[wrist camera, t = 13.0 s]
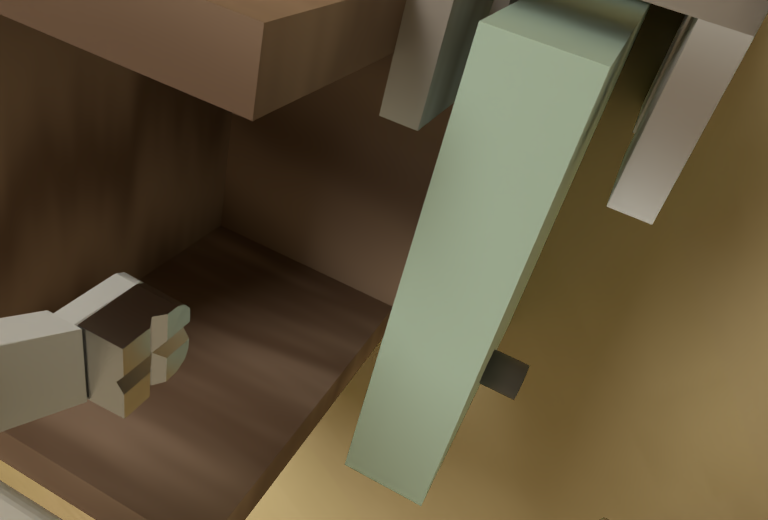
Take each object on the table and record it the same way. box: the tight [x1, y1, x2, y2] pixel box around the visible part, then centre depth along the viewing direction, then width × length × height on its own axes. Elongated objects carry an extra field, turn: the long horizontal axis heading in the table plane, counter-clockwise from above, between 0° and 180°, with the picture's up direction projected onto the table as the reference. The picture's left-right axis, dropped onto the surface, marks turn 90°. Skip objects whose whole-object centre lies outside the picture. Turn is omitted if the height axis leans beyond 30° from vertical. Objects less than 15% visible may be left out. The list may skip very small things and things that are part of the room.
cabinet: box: [0, 0, 768, 520], centre depth 19 cm, size 17×16×14 cm
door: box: [345, 0, 651, 506], centre depth 19 cm, size 13×4×10 cm, turn 166°
